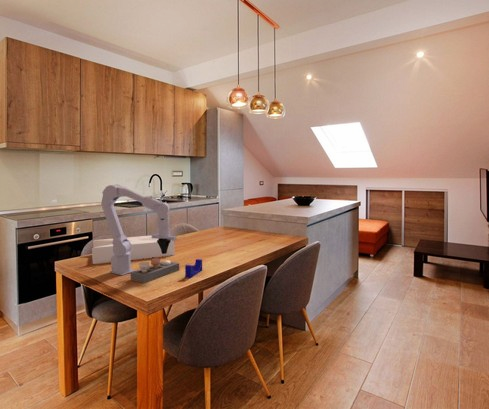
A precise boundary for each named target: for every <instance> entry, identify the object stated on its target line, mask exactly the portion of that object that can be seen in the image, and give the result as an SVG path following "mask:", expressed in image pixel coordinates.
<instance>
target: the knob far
mask: <svg viewBox="0 0 489 409" xmlns="http://www.w3.org/2000/svg"><path fill="white" fill-rule="evenodd" d="M161 262H162V265H163V266H168V265H171V262H172V260H168V259H166V260H162V261H161Z"/></svg>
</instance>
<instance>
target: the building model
mask: <svg viewBox="0 0 489 409" xmlns="http://www.w3.org/2000/svg"><path fill="white" fill-rule="evenodd" d="M126 237H127V236H126ZM127 239H128V241H129V242H130V243H131V249H130V250H129V252H130V258H131V261H134V260H135V261H136V260H143V258H144V259H151V258H152V257H154V258H160V257H162V256H163V257H172V256H175V255H176V254H175V253H176V251H175V244H176V243H175V241H172V240H171V242H170V243H169V246H168V249H167V253H166V254H162V252H161V249H160V246H159V244H158V243H157V240H158V239H157V238H152V234H151V235H141V236H129V237H127ZM92 241H93V242H92V243H93V244H92V245H93V246H92V248H91V255H92V256H91V258H92V264H93V265H98V264H105V263H107V264H108V263H111V258H112V256H113V255H114V252H113V244H112V242H113V238H106V239H105V238H104V239H93V240H92ZM171 255H172V256H171ZM163 257H162V258H163ZM152 259H153V258H152Z"/></svg>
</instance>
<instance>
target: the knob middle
mask: <svg viewBox="0 0 489 409" xmlns="http://www.w3.org/2000/svg"><path fill="white" fill-rule="evenodd" d="M160 263H161V258H158V257H155V258H152V259H150V266H152V265H153V269H154V270H157V269H158V265H159V264H160Z"/></svg>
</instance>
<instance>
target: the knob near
mask: <svg viewBox="0 0 489 409" xmlns="http://www.w3.org/2000/svg"><path fill="white" fill-rule="evenodd" d="M138 265H139V267H138V268H139V270H140V269H142V273H143V274H145V273H147V268H149V266H150V261H149V262H148V261H143V262H140V263H139V264H138Z"/></svg>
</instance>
